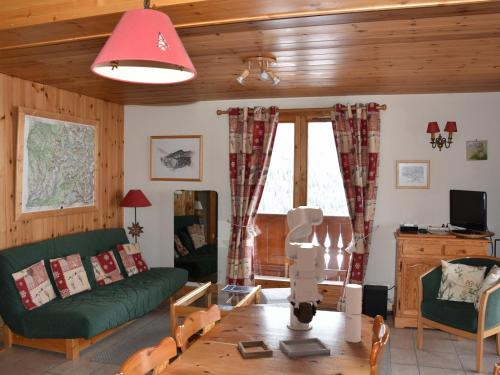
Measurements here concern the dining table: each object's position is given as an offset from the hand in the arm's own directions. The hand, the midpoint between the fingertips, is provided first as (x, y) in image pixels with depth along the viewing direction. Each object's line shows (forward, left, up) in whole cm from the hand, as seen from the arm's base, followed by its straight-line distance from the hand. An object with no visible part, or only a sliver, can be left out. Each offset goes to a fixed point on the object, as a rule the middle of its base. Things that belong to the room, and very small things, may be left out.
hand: (304, 315), depth 194 cm
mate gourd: (0, 0, -3) cm, 3 cm away
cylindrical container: (-8, +27, -15) cm, 32 cm away
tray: (0, 0, -15) cm, 15 cm away
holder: (-4, -21, -15) cm, 26 cm away
